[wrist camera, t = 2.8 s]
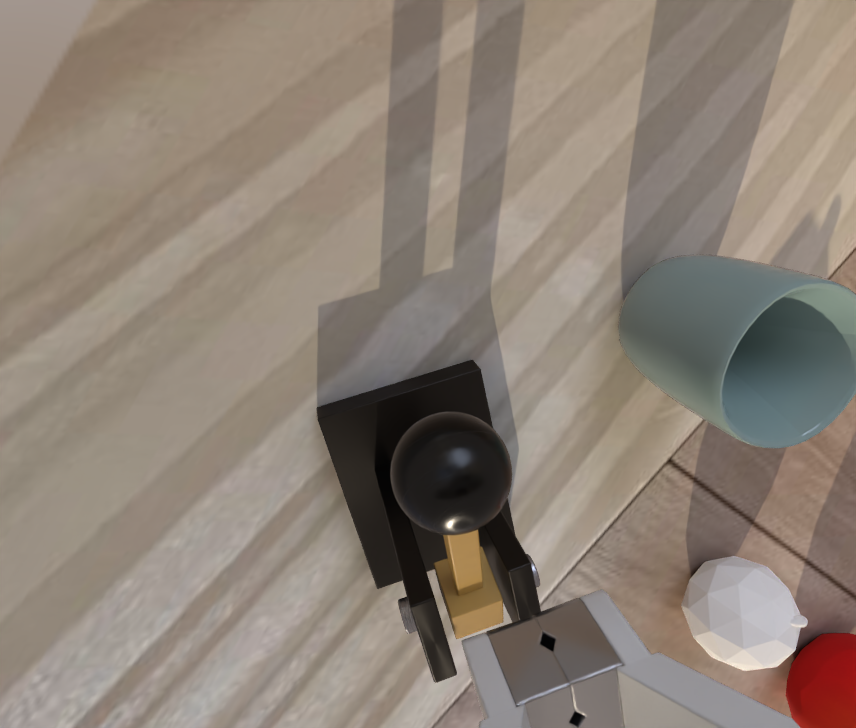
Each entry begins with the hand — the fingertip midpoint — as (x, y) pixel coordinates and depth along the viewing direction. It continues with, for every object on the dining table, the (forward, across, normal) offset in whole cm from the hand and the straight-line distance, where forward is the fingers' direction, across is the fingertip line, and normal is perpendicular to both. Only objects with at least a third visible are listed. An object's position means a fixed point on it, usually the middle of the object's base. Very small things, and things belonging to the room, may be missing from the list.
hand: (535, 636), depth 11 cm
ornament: (+21, -18, +26) cm, 38 cm away
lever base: (+20, 0, +9) cm, 22 cm away
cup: (+21, -16, +3) cm, 26 cm away
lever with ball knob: (+10, 0, +4) cm, 10 cm away
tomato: (+21, -28, +40) cm, 53 cm away
